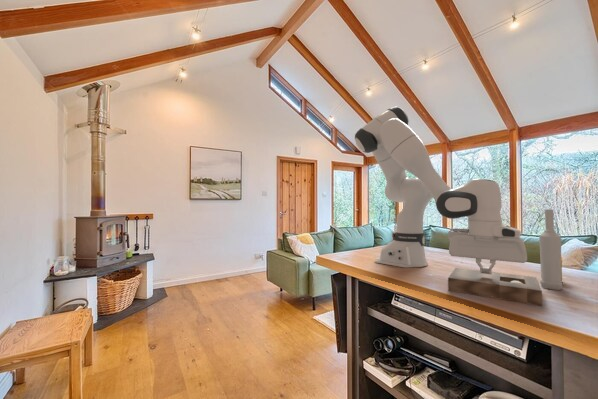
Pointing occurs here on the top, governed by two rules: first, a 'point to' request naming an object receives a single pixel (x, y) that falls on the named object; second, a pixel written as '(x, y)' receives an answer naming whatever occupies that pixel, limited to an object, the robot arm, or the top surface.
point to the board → (496, 285)
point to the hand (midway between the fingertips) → (485, 273)
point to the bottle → (550, 254)
